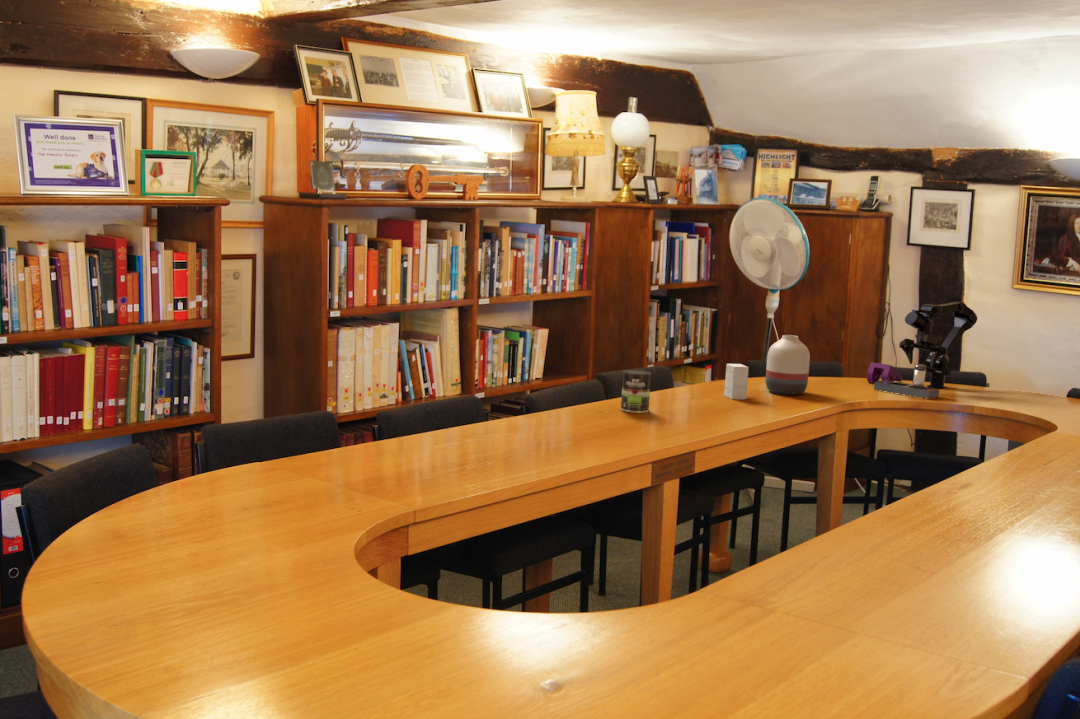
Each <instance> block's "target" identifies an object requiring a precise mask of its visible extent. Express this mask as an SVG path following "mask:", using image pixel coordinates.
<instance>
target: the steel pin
mask: <svg viewBox="0 0 1080 719" xmlns="http://www.w3.org/2000/svg"><path fill="white" fill-rule="evenodd" d="M926 372H927V369H926V364H917V363H916V364H914V367H913V380H912V385H913V387H912V388H916V389H924V387H925V380H926V379H925V378H926Z"/></svg>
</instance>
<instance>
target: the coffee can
mask: <svg viewBox="0 0 1080 719" xmlns="http://www.w3.org/2000/svg"><path fill="white" fill-rule="evenodd" d="M651 379H652V372H651V371H647V370H643V369H624V370H622V381H621V382H622V383H621V386H622V387H621V398H620V399H621V400H620V411H622V412H625V413H632V414H645V413H648V412H650V410H649V408H650V392H651V383H652V382H651V381H652V380H651Z"/></svg>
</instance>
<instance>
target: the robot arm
mask: <svg viewBox="0 0 1080 719" xmlns="http://www.w3.org/2000/svg"><path fill="white" fill-rule="evenodd" d="M951 313H952V316H953V317H954V321H953V322H954V325H953V327H952V329H951V330H950V332H949V333H948V335H947V336H946V338H945V339H944V341H943V342H942V338H943V337H942V335H940V334H935V335H934V334H933V333H932V330H933V329H932V326H935V322H934V321H933V320H935V319H936V320H937V319H939V318H941V316H942V315H946V314H951ZM932 319H933V320H932ZM977 321H978V316H977V314H976V313H975V312H974V310H973V309H971V308H970V307H969V306H967V304H966V303H965V302H962V301H957V300H955V301H952V302H947V303H940V304H929V303H925V304H922V305H921V307H920V308H919V309H911V312H908V313H907V314H906V315H905V318H904V323H905V324H907V325H908V326H910V327H912V328H914V329H916V334H915V336H914V337H915V338H916V342H915V340H914V339H910V338H904V339H902V340H900V342H899V346H898V347H899V348H900V349H901V350H902V351H903V352H904V354H905V355H906V357H907V360H908V363H909V365H912V364H913V361H914V359H913V358H914V350H915V349H918V350H923V351H928V352H930V353H929V355H928V356H927V357H926V360H925V365H926V372H927V373H930V383H929V384H927V385H926V387H930V388H936V389H939V390H941V389H946V388H948V386H947V385H945V379H946V376H950V375H951V371H952V370H951V368H950V366H949V363H950V360H949V359H950V358H949V356H950V355H951V353H952V352H953V350H954V349H955V347H956V346H957V344H958V343H959V341H960V340H961V338H962V337H963V335H964V333H965V332H966V331H968V330H971V329H972V328H973V327H974V326H975V325H976V323H977ZM941 342H942V344H941V345H937V343H938V344H940V343H941ZM933 345H936V346H934V347H933Z"/></svg>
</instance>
